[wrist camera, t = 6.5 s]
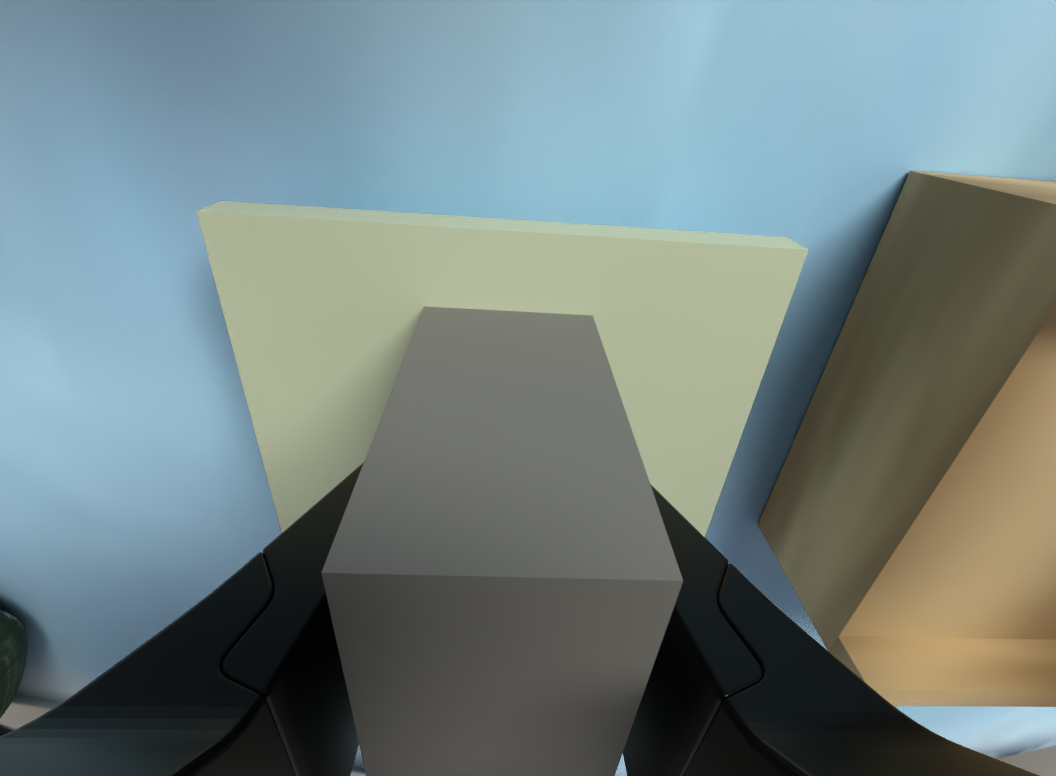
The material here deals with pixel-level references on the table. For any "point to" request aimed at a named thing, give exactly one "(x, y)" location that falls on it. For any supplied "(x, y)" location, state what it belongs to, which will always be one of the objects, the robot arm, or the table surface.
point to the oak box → (937, 455)
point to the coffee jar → (11, 658)
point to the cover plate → (389, 259)
